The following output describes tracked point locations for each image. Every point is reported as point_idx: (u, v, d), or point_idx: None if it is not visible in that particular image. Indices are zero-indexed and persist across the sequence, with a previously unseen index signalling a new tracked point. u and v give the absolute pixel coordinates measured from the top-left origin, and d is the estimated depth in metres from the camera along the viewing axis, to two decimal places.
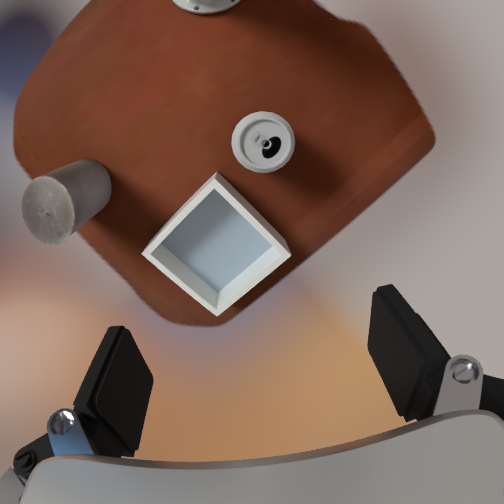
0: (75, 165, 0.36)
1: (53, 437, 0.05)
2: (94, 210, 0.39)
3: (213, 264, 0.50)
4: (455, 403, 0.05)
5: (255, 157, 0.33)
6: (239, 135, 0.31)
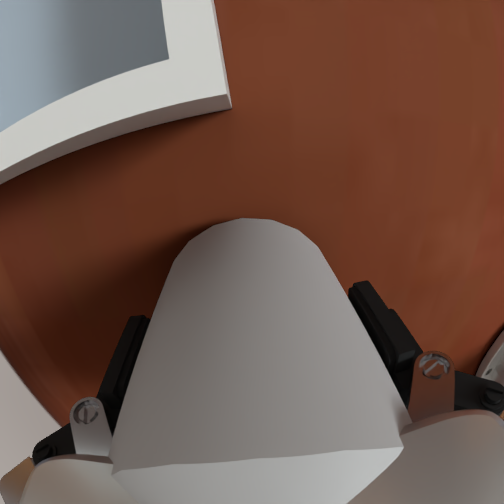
0: None
1: (77, 426, 0.06)
2: None
3: None
4: (422, 398, 0.05)
5: None
6: None
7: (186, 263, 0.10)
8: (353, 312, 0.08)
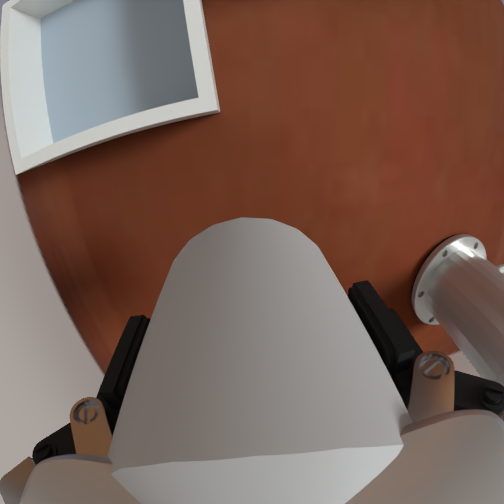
0: None
1: (78, 426, 0.06)
2: None
3: (80, 27, 0.16)
4: (421, 398, 0.05)
5: None
6: None
7: (186, 262, 0.10)
8: (353, 311, 0.08)
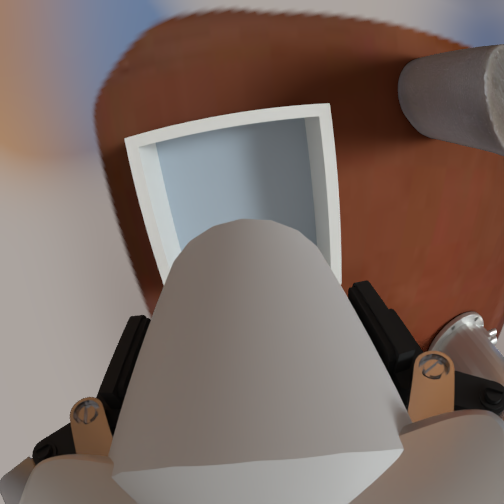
0: None
1: (78, 427, 0.06)
2: (434, 106, 0.19)
3: (208, 168, 0.27)
4: (421, 398, 0.05)
5: None
6: None
7: (186, 264, 0.10)
8: (353, 313, 0.08)
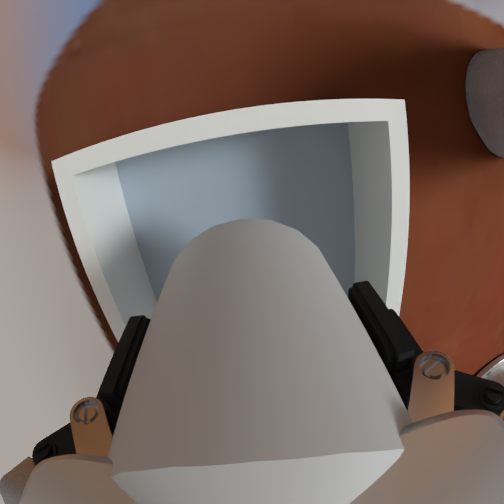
0: None
1: (77, 427, 0.06)
2: None
3: (195, 200, 0.17)
4: (421, 398, 0.05)
5: None
6: None
7: (185, 264, 0.10)
8: (353, 313, 0.08)
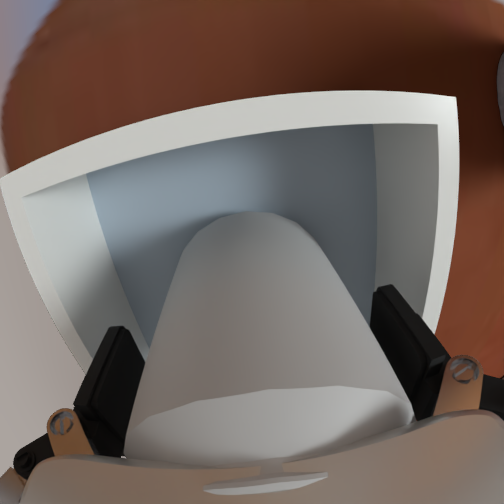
0: None
1: (53, 437, 0.05)
2: None
3: (183, 219, 0.14)
4: (455, 403, 0.05)
5: None
6: None
7: (196, 250, 0.11)
8: (345, 290, 0.09)
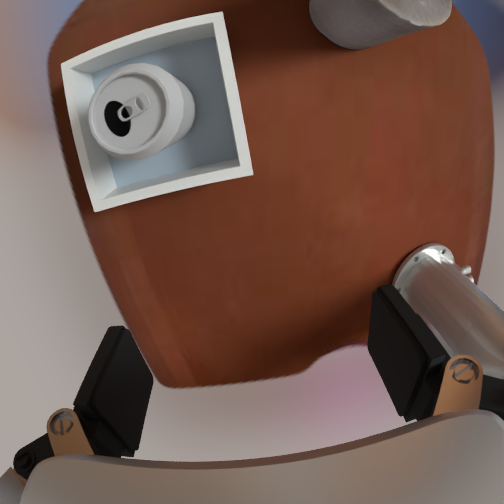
0: None
1: (53, 437, 0.05)
2: (330, 5, 0.19)
3: None
4: (455, 403, 0.05)
5: (116, 88, 0.16)
6: (158, 80, 0.16)
7: None
8: None
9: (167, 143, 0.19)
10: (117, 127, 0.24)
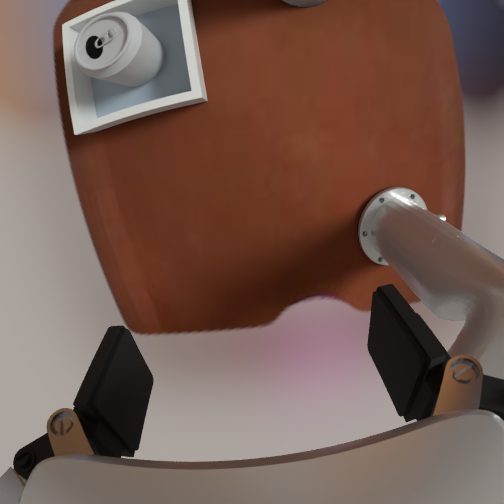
0: None
1: (53, 437, 0.05)
2: None
3: None
4: (455, 403, 0.05)
5: (96, 27, 0.18)
6: (124, 18, 0.18)
7: None
8: None
9: (128, 63, 0.21)
10: None
